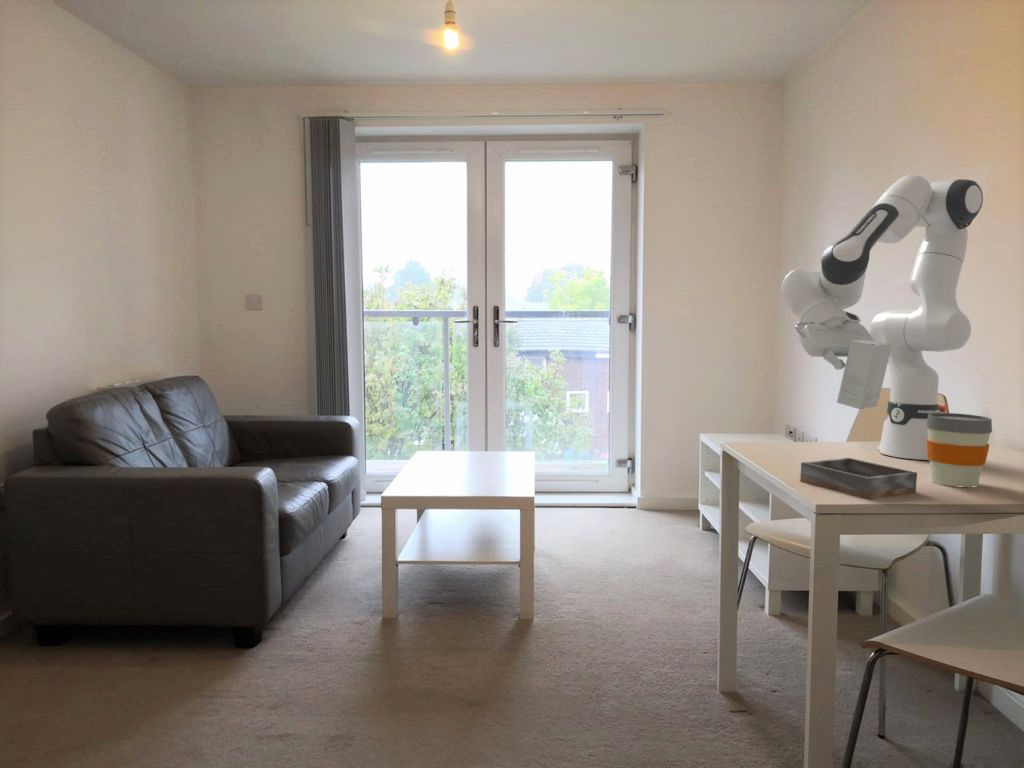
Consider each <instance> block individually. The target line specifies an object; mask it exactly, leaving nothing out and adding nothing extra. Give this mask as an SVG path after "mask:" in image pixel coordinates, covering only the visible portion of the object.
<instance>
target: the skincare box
mask: <svg viewBox="0 0 1024 768" xmlns="http://www.w3.org/2000/svg"><path fill="white" fill-rule="evenodd" d="M891 348H892V345H891V344H886V343H882V342H877V341H873V340H851V344H850V348H849V353H848V357H846V362H845V367H844V368H843V369H844V370H843V375H842V379H841V384H840V387H839V392H838V395H837V400H836V403H837V404H840V405H844V406H848V407H850V408H854V409H858V410H864V409H871V408H877V407H878V406H879V405H878V403H879V400H880V397H881V394H882V393H881V392H882V388H883V385H884V380H885V377H886V370H887V367H888V365H889V364H888V360H889V356H890V352H891Z"/></svg>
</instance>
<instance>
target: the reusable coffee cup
mask: <svg viewBox="0 0 1024 768" xmlns="http://www.w3.org/2000/svg"><path fill="white" fill-rule="evenodd" d="M992 424H993V423H992V418H991V417H988V416H982V415H976V414H966V413H957V412H954V413H953V412H946V413H943V412H940V413H930V414H928V418H927V423H926V427H927V428H928V438H927V439H926V442H927V456H928V459H929V460H928V461H929V466H930V481H931V482H932V481H933V482H932V483H934V482H935V483H934V484H936V483H939V484H938V485H940V484H942V485H941V486H944V485H949V486H948V487H950V486H963V487H972V486H977V485H978V486H979V482H980V477H981V473H982V470H983V466H984V465H986V461H987V457H988V454H989V449H990V444H989V439H990V434H991V433H993V425H992ZM978 486H977V487H978Z"/></svg>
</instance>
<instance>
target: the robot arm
mask: <svg viewBox="0 0 1024 768" xmlns="http://www.w3.org/2000/svg"><path fill="white" fill-rule="evenodd" d="M983 201H984V193H983V190H982V189H981V186H980V185H979V184H978V183H977V181H976V180H971V179H966V178H965V179H961V178H960V179H959V178H958V179H956V180H941V181H940V180H939V181H933V182H929V181H928V180H927V179H926V178H924V177H923V176H920V175H918V174H907V175H904V176H902V177H900V178H899V179H897V180H896V181H895V182H894V183H892V185H890V186H889V187H888V188H887V189H886V190H885V191H884V192H883V194H881V195H880V197H879V198H878V199H877V201H876V202H875V203H874V204H873V206H872V207H871V208H870V210H869V211H867V213H866V214H865V215H864V216H863V217H862V218H861V219H860V220H859V221H858V222H857V223H856V225H854V226H853V228H852V229H851V230H850V231H849V232H848V233H847V234H846V235H845V236H844V237H842V238H840V239H839V240H837V241H835V242H833V243H831V244H830V245H829V246H828V247H826V249H825V250H824V251H823V252H822V254H821V259H820V260H821V261H820V263H821V270H812V269H806V268H804V267H797V268H795V269H793V270H791V271H790V272H789V273H787V275H786V276H785V277H784V278H783V279H782V282H781V286H780V292H781V295H782V297H783V299H784V301H785V303H786V305H787V306H788V307H789V309H790V311H791V312H792V314H794V315H795V316H796V317H798V320H799V321H798V322H797V323H796V324H795V327H794V329H795V330H796V332H797V334H798V335H797V336H798V337H797V338H798V339H799V342H800V343H801V345H802V348H803V349H804V351H805V353H807V355H809V356H810V357H812V358H813V357H821V358H823V359H824V360H825V361H826V362H827V363H829V364H831V365H832V366H833V368H834V369H835V370H843V369H845V365H846V362H844V360H843V359H839V358H847V357H848V353H849V348H850V344H851V340H873V341H877V342H882V343H886V344H891V345H892V348H891V352H890V356H889V360H888V364H887V365H888V366H889V373H890V374H889V375H890V386H889V387H890V390H889V393H890V394H889V400H888V401H887V406H886V414H887V418H886V419H885V420H884V422H883V427H882V431H881V438H880V444H878V445H877V447H876V449H877V451H878V452H879V453H881V454H882V455H886V456H890V457H894V458H902V459H911V460H922V461H923V460H924V461H930V460H929V459H928V456H927V442H926V439H927V438H928V428H927V427H926V423H927V418H928V414H930V413H947V411H948V406H947V405H946V404H938V394H939V393H938V392H939V379H940V378H939V375H938V373H937V371H936V370H935V369H933V368H932V367H931V366H929V365H928V364H927V363H926V360H925V359H924V356H923V352H934V353H935V352H937V353H938V352H939V353H940V352H941V353H942V352H943V353H944V352H950V351H955V350H960V349H961V348H963V347H964V346H965V345H966V344H967V342H968V341H969V339H970V337H971V334H972V326H971V322H970V320H969V318H968V316H967V315H966V314H965V313H964V312H963V311H962V310H961V309H960V307H959V305H958V302H957V295H956V294H957V287H958V283H959V279H960V275H961V271H962V267H963V264H964V262H965V258H966V252H967V246H968V239H969V238H968V235H969V231H968V227H969V226H970V225H971V224H972V222H973V220H974V219H975V218H976V217H977V216H978V214H979V213H980V211H981V209H982V206H983ZM915 227H917V228H919V227H920V228H921V227H925V234H924V237H923V238H922V241H921V243H920V246H919V247H918V250H917V254H916V256H915V260H914V263H913V266H912V269H911V273H910V276H909V278H908V286H909V288H910V290H911V291H912V292H913V293H914V294H915V295H916V296H918V297H919V298H920V303H919V306H918V307H917V308H894V309H890V310H885V311H881V312H879V313H877V314H876V315H875V316H874V317H873V319H872V321H871V323H870V327H869V331H868V329H867V328H866V327H865V326H864V325H863V324H861V321H862V320H861V318H860V317H859V316H858V315H857V314H854V313H851V312H848V311H846V310H845V309H847V308H848V309H849V308H850V307H852V306H855V304H857V303H858V302H859V301H860V299H861V298H862V295H863V290H864V286H865V285H864V283H865V279H866V273H867V268H868V265H869V262H870V261H869V260H870V253H871V251H872V249H873V248H874V247H875V246H876V244H877V243H878V242H880V243H882V244H883V243H884V244H895V243H899V242H901V241H902V240H903V239H905V238H906V237H907V236H908V235H910V233H911V232H912V231H913V230H914V228H915Z"/></svg>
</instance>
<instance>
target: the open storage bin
mask: <svg viewBox="0 0 1024 768" xmlns="http://www.w3.org/2000/svg"><path fill="white" fill-rule="evenodd" d="M917 478H918V472H915V471H911V470H906V469H901V468H897V467H893V466H889V465H884V464H878V463H874V462H869V461H865V460H860V459H857V458H853V457H842V458H841V457H840V458H832V459H823V460H822V459H821V460H813V461H802V462H800V482H802V483H805V482H806V484H810V485H813V486H816V487H817V486H818V487H820V488H824V489H827V490H832V491H834V492H835V491H836V492H839V493H842V494H847V495H850V496H854V497H857V498H861V499H865V500H870V499H876V498H877V499H878V498H884V497H890V496H891V497H892V496H898V494H900V495H904V494H905V493H907V494H911V493H910V492H915V493H917V481H918V479H917ZM905 495H906V494H905Z"/></svg>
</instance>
